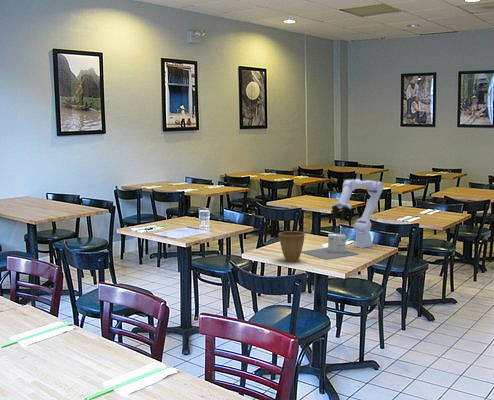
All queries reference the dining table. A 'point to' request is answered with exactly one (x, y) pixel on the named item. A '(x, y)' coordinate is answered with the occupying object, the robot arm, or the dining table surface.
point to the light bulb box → (337, 243)
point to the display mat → (327, 253)
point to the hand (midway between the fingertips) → (337, 218)
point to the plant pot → (291, 244)
